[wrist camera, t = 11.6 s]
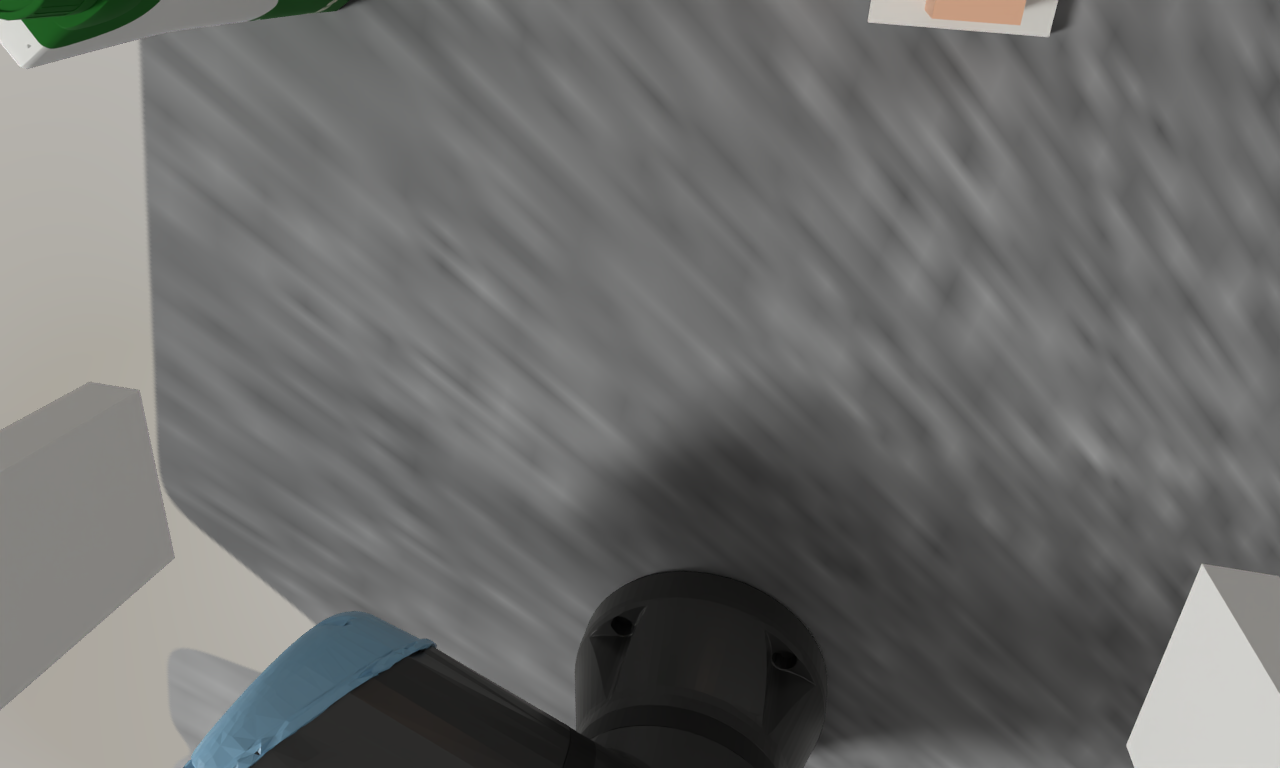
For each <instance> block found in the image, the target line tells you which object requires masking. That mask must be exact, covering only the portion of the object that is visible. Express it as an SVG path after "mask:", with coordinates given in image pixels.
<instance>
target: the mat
mask: <svg viewBox="0 0 1280 768" xmlns="http://www.w3.org/2000/svg"><path fill="white" fill-rule="evenodd" d="M1057 3H1058V0H1026V4H1025V8H1024V12H1023V16H1022V20H1021V25H1009V24H996V23H983V22H969V21H956V20H943V19H932V18H931V17H930V16H929V15H928V14H927V12H926V11H925V4H926V0H871V4H870V10H869V16H868V22H870V23H883V24H895V25H907V26H919V27H932V28H944V29H956V30H968V31H981V32H993V33H1005V34H1017V35H1030V36H1042V37H1049V35H1050V31H1051V27H1052V23H1053V19H1054V15H1055V11H1056V7H1057Z"/></svg>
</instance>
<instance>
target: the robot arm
mask: <svg viewBox="0 0 1280 768" xmlns="http://www.w3.org/2000/svg"><path fill="white" fill-rule="evenodd" d="M174 558H175V557H174V552H173V547H172V542H171V537H170V532H169V528H168V523H167V518H166V513H165V509H164V504H163V499H162V494H161V490H160V485H159V480H158V475H157V470H156V466H155V461H154V456H153V452H152V447H151V442H150V437H149V432H148V428H147V423H146V418H145V413H144V409H143V404H142V399H141V395H140V390H136V389H130V388H124V387H118V386H112V385H105V384H100V383H93V382H88V383H86V384H85V385H83V386H81V387H79V388H77V389H75V390H73V391H72V392H70V393H68V394H66V395H64V396H62V397H61V398H59V399H57V400H55V401H53V402H51V403H50V404H48V405H46V406H44V407H42V408H40V409H39V410H37V411H35V412H33V413H31V414H29V415H27V416H26V417H24V418H22V419H20V420H18V421H16V422H14V423H13V424H11V425H9V426H7V427H5V428H3V429H2V430H0V710H1V709H2V708H3V707H5V706H6V705H7V704H8V703H9V702H10V701H11V700H13V699H14V698H15V697H16V696H17V695H18V694H19V693H21V692H22V691H23V690H24V689H25V688H26V687H27V686H29V685H30V684H31V683H32V682H33V681H34V680H35V679H37V678H38V677H39V676H40V675H41V674H42V673H43V672H45V671H46V670H47V669H48V668H49V667H50V666H51V665H52V664H54V663H55V662H56V661H57V660H58V659H60V658H61V657H62V656H63V655H64V654H65V653H66V652H68V651H69V650H70V649H71V648H72V647H73V646H74V645H76V644H77V643H78V642H79V641H80V640H81V639H82V638H84V637H85V636H86V635H87V634H88V633H89V632H91V631H92V630H93V629H94V628H95V627H96V626H97V625H98V624H100V623H101V622H102V621H103V620H104V619H105V618H107V617H108V616H109V615H110V614H111V613H112V612H113V611H115V610H116V609H117V608H118V607H119V606H120V605H121V604H123V603H124V602H125V601H126V600H127V599H128V598H129V597H130V596H132V595H133V594H134V593H135V592H136V591H137V590H139V589H140V588H141V587H142V586H143V585H144V584H146V582H148V581H149V580H150V579H151V578H152V577H154V575H156V574H157V573H158V572H159V571H160V570H162V569H163V568H164V567H165V566H166V565H167V564H168V563H170V562H171V561H172V560H173V559H174ZM436 647H437V645H436V644H435V643H434V642H433V641H431V640H429V639H418V638H417V637H415V636H413V635H411V634H409V633H407V632H405V631H403V630H401V629H399V628H397V627H395V626H393V625H391V624H389V623H387V622H385V621H383V620H381V619H379V618H377V617H375V616H373V615H371V614H368V613H365V612H358V611H352V612H344V613H340V614H336V615H334V616H331V617H329V618H327V619H325V620H323V621H322V622H320V623H319V624H317V625H316V626H314V627H313V628H312V629H310V630H309V631H308V632H306V633H305V634H304V635H302V636H301V637H300V638H299V639H298V640H297V641H295V642H294V643H293V644H292V645H291V646H289V647H288V648H287V649H286V650H285V651H284V652H283V653H282V654H281V655H280V656H279V657H278V658H277V659H276V660H275V661H274V662H273V663H271V664H270V665H269V667H267V668H266V670H264V671H263V672H262V673H261V674H260V676H259V677H258V678H257V679H256V680H255V681H254V682H253V683H252V684H251V685H250V686H249V687H248V688H247V689H246V690H245V691H244V692H243V694H242V695H241V696H240V697H239V698H238V699H237V700H236V701H235V702H234V703H233V705H232V706H231V707H230V708H229V709H228V710H227V711H226V713H225V714H224V715H223V716H222V717H221V718H220V719H219V721H218V722H217V723H216V724H215V725H214V727H213V728H212V729H211V730H210V731H209V732H208V734H207V735H206V736H205V737H204V739H203V740H202V741H201V743H200V744H199V745H198V746H197V748H196V749H195V750H194V752H193V754H192V756H191V758H192V759H191V760H189V761H188V762H187V764H186V765H185V766H184V767H183V768H804V766H805V764H806V762H807V760H808V758H809V756H810V754H811V752H812V750H813V748H814V746H815V744H816V743H817V741H818V739H819V736H820V733H821V730H822V727H823V723H824V719H825V711H826V693H827V675H826V668H825V664H824V661H823V658H822V655H821V652H820V650H819V648H818V646H817V644H816V642H815V640H814V639H813V637H812V636H811V634H810V633H809V631H808V630H807V629H806V628H805V626H804V625H803V624H802V623H801V622H800V621H799V620H798V619H797V618H796V617H795V616H794V615H793V614H792V613H791V612H790V611H789V610H788V609H786V608H785V607H784V606H783V605H781V604H780V603H779V602H777V601H776V600H774V599H773V598H771V597H770V596H768V595H766V594H764V593H763V592H761V591H759V590H757V589H755V588H753V587H751V586H748V585H746V584H744V583H741V582H738V581H735V580H732V579H729V578H725V577H721V576H717V575H712V574H706V573H697V572H670V573H662V574H656V575H651V576H647V577H644V578H641V579H638V580H635V581H633V582H631V583H628V584H626V585H624V586H623V587H621V588H619V589H618V590H616V591H615V592H613V593H612V594H611V595H610V596H608V597H607V598H606V599H605V600H604V601H603V602H602V603H601V604H600V606H599V607H598V608H597V609H596V611H595V612H594V614H593V616H592V618H591V620H590V622H589V624H588V627H587V629H586V632H585V634H584V637H583V639H582V642H581V644H580V647H579V650H578V654H577V659H576V665H575V701H576V731H575V730H573V729H572V728H570V727H569V726H567V725H566V724H564V723H562V722H560V721H559V720H557V719H555V718H554V717H552V716H550V715H549V714H547V713H545V712H543V711H542V710H540V709H538V708H537V707H535V706H533V705H531V704H530V703H528V702H526V701H525V700H523V699H521V698H519V697H518V696H516V695H514V694H513V693H511V692H509V691H508V690H506V689H504V688H502V687H501V686H499V685H497V684H496V683H494V682H492V681H490V680H489V679H487V678H485V677H484V676H482V675H480V674H478V673H477V672H475V671H473V670H472V669H470V668H468V667H466V666H465V665H463V664H461V663H460V662H458V661H456V660H455V659H453V658H451V657H449V656H448V655H446V654H444V653H443V652H441V651H439V650H438V649H436ZM1126 746H1127V749H1128V752H1129V754H1130V757H1131V760H1132V763H1133V765H1134V768H1280V577H1279V576H1275V575H1269V574H1263V573H1257V572H1251V571H1245V570H1238V569H1232V568H1226V567H1220V566H1214V565H1208V564H1201V567H1200V569H1199V572H1198V574H1197V576H1196V579H1195V581H1194V584H1193V586H1192V588H1191V591H1190V593H1189V596H1188V598H1187V600H1186V603H1185V605H1184V608H1183V610H1182V612H1181V615H1180V617H1179V620H1178V622H1177V624H1176V627H1175V629H1174V632H1173V634H1172V636H1171V639H1170V641H1169V644H1168V646H1167V648H1166V651H1165V653H1164V656H1163V658H1162V660H1161V663H1160V665H1159V668H1158V670H1157V672H1156V675H1155V677H1154V680H1153V682H1152V685H1151V687H1150V689H1149V692H1148V694H1147V697H1146V699H1145V701H1144V704H1143V706H1142V709H1141V711H1140V713H1139V716H1138V718H1137V721H1136V723H1135V725H1134V728H1133V730H1132V733H1131V735H1130V737H1129V740H1128V742H1127V745H1126Z"/></svg>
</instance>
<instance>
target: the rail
mask: <svg viewBox="0 0 1280 768" xmlns="http://www.w3.org/2000/svg"><path fill="white" fill-rule="evenodd" d="M1025 4H1026V0H926V4H925V11H926V12H927V14H928V15H929V16H930V17H931V18H932V19H943V20H956V21H969V22H983V23H996V24H1009V25H1021V20H1022V16H1023V12H1024V8H1025Z"/></svg>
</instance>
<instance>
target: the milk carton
mask: <svg viewBox="0 0 1280 768" xmlns="http://www.w3.org/2000/svg"><path fill="white" fill-rule="evenodd" d="M348 1H349V0H0V43H1V44H2V45H3V47H4V48H5V49H6V51H8V53H9V54H10V55H11V57H12V58H13V59H14V60H15V61H16V63H17V64H18V65H19V66H20V67H23V68H26V69H29V68H33V67H36V66H40V65H44V64H48V63H51V62H55V61H59V60H62V59H66V58H70V57H73V56H77V55H81V54H85V53H88V52H92V51H96V50H100V49H103V48H107V47H111V46H115V45H118V44H123V43H126V42H130V41H134V40H138V39H142V38H146V37H150V36H154V35H158V34H162V33H167V32H172V31H179V30H186V29H193V28H201V27H208V26H216V25H223V24H231V23H239V22H246V21H254V20H262V19H269V18H277V17H285V16H292V15H300V14H311V13H321V12H331V11H337V10H338V9H340V8H341V7H342V6H343V5H345V4H346V3H347V2H348Z"/></svg>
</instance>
